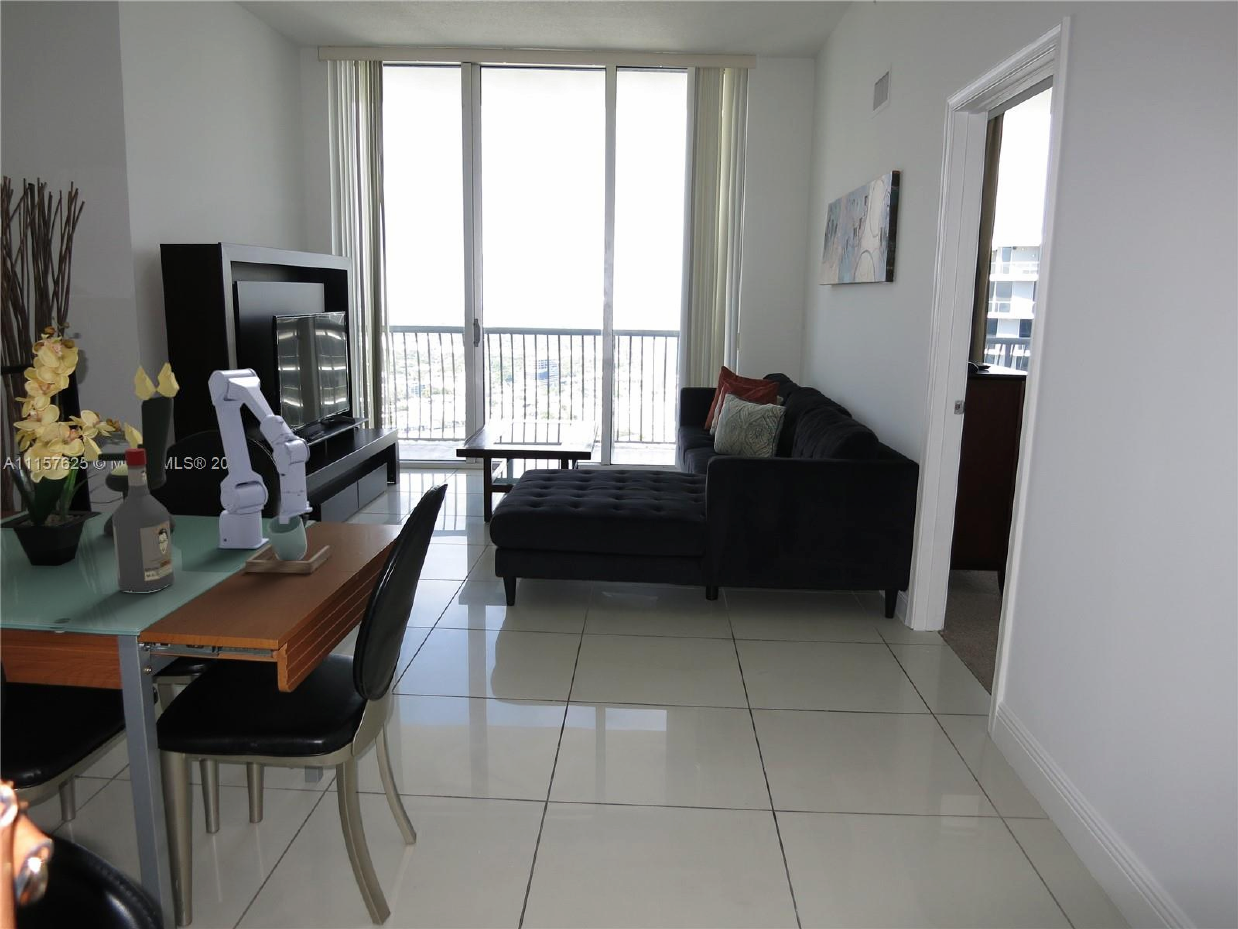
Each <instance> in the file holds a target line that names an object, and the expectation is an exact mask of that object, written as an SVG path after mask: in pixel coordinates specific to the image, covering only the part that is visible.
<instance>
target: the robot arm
mask: <svg viewBox="0 0 1238 929" xmlns="http://www.w3.org/2000/svg"><path fill="white" fill-rule="evenodd" d="M207 383H208V388H209V393H210V396H211V401H212V403H211V404H212V405H213V407H214V406H215V411H216V416H217V422H218V425H219V431H220V436H221V440H222V446H223V452H224V455H225V461H226V464H227V470H228V475H227V476H226V477H225V478H224V479H223V480H222V481H221V482H220V491H221V493H220V502H221V505H222V507H223V508H224V509H225V510H222V512H221V513H220V515H219V520H218V529H219V530H218V531H219V541H220V542H219V545H218V547H219V549H244V550H245V549H246V550H247V549H249V550H250V549H251V550H253V549H254V550H257V549H259V548H260V547H262V546H264V544H266V543H267V542H270V540H269V538H265V537H264V536H263V525H262V524H263V522H262V510H264V508H265V507H264V505H266V503H267V502H268V500H269V493H268V489H267V487H266V486H265V484H264V481H263V477H262V475H260V474H258V473H257V472H255V471H253V470H252V466H251V460H250V455H249V450H248V446H247V440H246V436H245V430H244V426H243V422H242V416H241V411H240V409H241V407H242V405H243V404H245V405H246V406H247V407H248V409H250V411H251V412H252V413H253V414H254V416H255V417H256V418H257V420H258V421H259V422H260V425H259V430H260V432H261V434H262V435H263V436H264V438H265V439H266V441H267V442H268V444H270V446H271V448H272V450H273V452H272V458H273V461H274V462H275V464H276V465H275V466H276V470H277V473H279V485H280V502H281V509H280V516H279V515H278V516H279V523H280V524H289V521H290V520H291V517H294V516H296V515H297V516H299V517H300V518H301V519H302V522H303V525H304V530H305V529H306V528H305V527H306V525H307V522H308V521H309V518H310V515H309V514H306V513H311V512H313V507H310V501H308V498H307V496H308V495H307V483H306V482H307V481H306V480H307V479H306V462H308V461H309V458H310V456H311V454H310V452H311V451H310V446H309V445H308V443H307V441H306V440H305V439H303V438H300V437H299V436H298V435H295V434H294V432H293V431H292V429H290V427H289V425H288V424H287V422H286V421H285V420H284V419H283V417H282V416H281V415H275V414H274V412H273V410H272V409H271V407H270V405H269V403H268V401H267V400H266V398H265V397H264V395H263V393H262V391H261V390H260V389H261V380H260V378H259V377H258V375H257V373H256V371H255V370H253V369H252V368H245V369H231V370H229V369H228V370H214V371H213V372H212V374H211V375H210V377H209V380H208V382H207ZM243 483H244V484H243ZM238 484H240V485H238ZM263 537H264V538H263Z"/></svg>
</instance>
